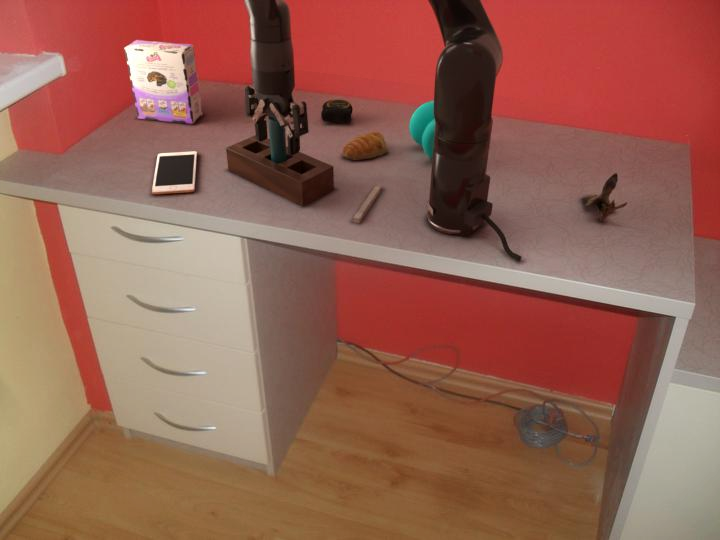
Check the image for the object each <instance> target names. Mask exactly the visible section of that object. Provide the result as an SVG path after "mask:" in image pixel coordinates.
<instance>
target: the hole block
mask: <svg viewBox="0 0 720 540" xmlns="http://www.w3.org/2000/svg"><path fill="white" fill-rule="evenodd" d="M286 151H287V160H285V161H283V162H281V163H279V164H277V163H275V162H273V161H271V150H270V138H268V137H267V139H266V140H264V141H261V142H260V141H258V140H257V137H256V134H255V135H252V136H250V137H248V138H245V139H243V140H241V141H239V142H236V143H234V144H232V145H229V146H227V147H225V152H226V153H225V154H226V160H227V169H228V171H229V172H231V173H232V174H235V175H236V176H239V177H241V178H243V179H245V180H246V181H248V182H251V183H253V184H255V185H257V186H259V187H262V188H264V189H266V190H268V191H270V192H272V193H274V194H276V195H278V196H281V197H283V198H284V199H287V200H289V201H291V202H293V203H294V204H296V205H299V206H301V207H305V206H306V205H308V204H310V203H312V202H314V201H316V200H317V199H319V198H321V197H323V196H325V195H327V194H328V193H331V192H332V191H334V190H335V184H334V183H335V181H334V179H335V178H334V176H335V175H334V173H335V172H334V169H335V168H334V165H332V164H330V163H327V162H325V161H322V160H320V159H317V158H315V157H313V156H310V155H308V154H305V153H303V152H301V151H299V152H298V153H297V154H294V155H290V154H288V145H286Z"/></svg>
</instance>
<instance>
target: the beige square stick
mask: <svg viewBox="0 0 720 540" xmlns="http://www.w3.org/2000/svg"><path fill="white" fill-rule="evenodd" d="M381 191H382V185H381V186H380V185H375V186H374V187H373V188H372V190H371V191H370V193H369V194H368V195H367V197H366V198H365V200H364V201H363V203H362V204H361V206H360V207H359V209H358V210H357V211H356V213H355V215H354V216H353V218H352V223H355V224H360V223H361V221H362V220H363V218H364V217H365V215H366V214H367V213H368V211H369V210H370V208H371V206H372V204H374V201H375V200H376V199H377V198H378V196H379V195H380V193H381Z"/></svg>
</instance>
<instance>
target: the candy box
mask: <svg viewBox="0 0 720 540" xmlns="http://www.w3.org/2000/svg"><path fill="white" fill-rule="evenodd" d="M123 51H124V54H125V59H126V64H127V70H128V76H129V80H130V84H131V91H132V95H133V101H134V105H135V110H136V116H137V119H140V120H150V121H158V122H159V121H160V122H170V123H177V124H178V123H179V124H180V123H181V124H187V125H190V124H191V125H194V124H195V123H196V122H197V121H198V120H199V119H200V118H202V116H203V108H202V107H203V105H202V100H201V92H200V84H199V76H198V70H197V62H196V54H195V48H194V44H190V43H177V42H165V41H154V40H153V41H151V40H142V39H136V40H134V41H132V42H131V43H130V44H127V46H125V47H124V48H123Z"/></svg>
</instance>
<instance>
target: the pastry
mask: <svg viewBox="0 0 720 540" xmlns="http://www.w3.org/2000/svg"><path fill="white" fill-rule="evenodd" d="M387 144H388V143H387V141H386V139H385V136H384V135H383V134H382V133H380V131H373V130H371V131H370V132H369V133H364V134H359V135H356V136H355V137H354V138H353V139H351V140H350V141H349V142H348V143H346V144H345V145H344V146H343V148H342V156H343V157H345V158H347V159H349V160H354V161H362V160H367V159H373V158H377V157H378V156H379V157H381V156H383V155H385V154H386V152H388V150H389V147H388V145H387Z"/></svg>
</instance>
